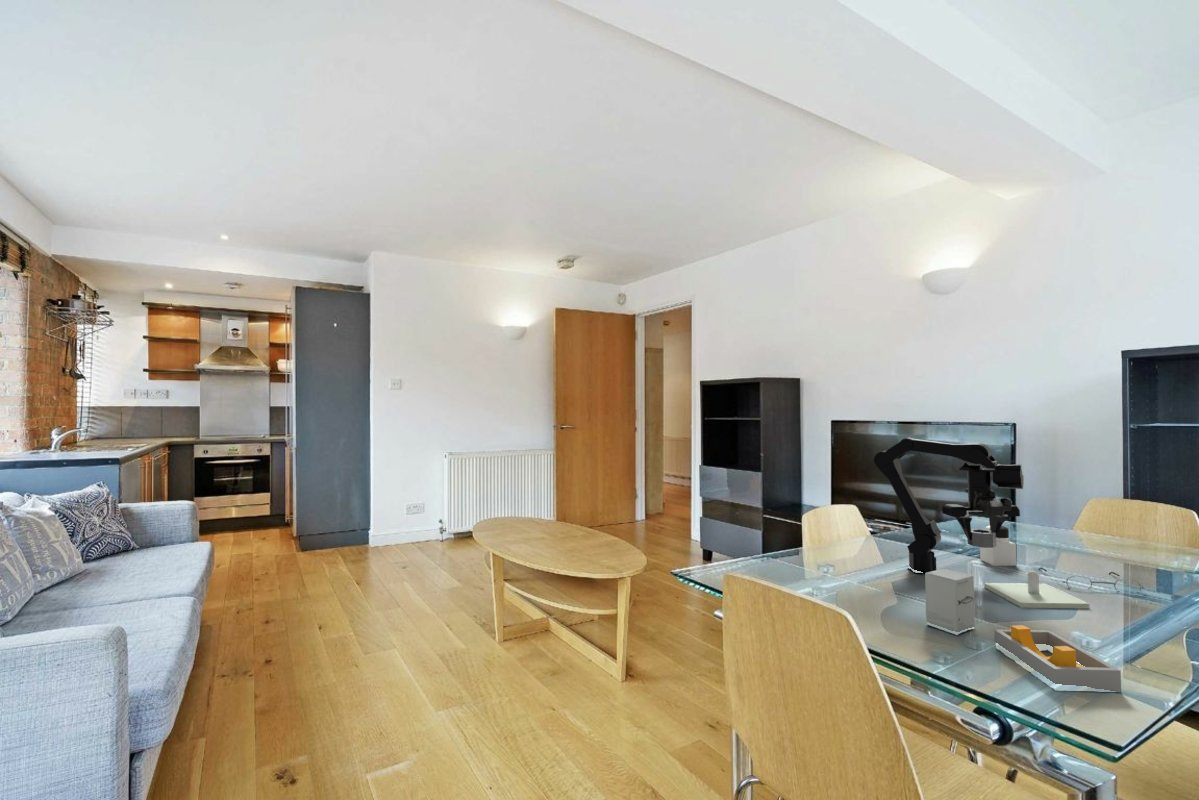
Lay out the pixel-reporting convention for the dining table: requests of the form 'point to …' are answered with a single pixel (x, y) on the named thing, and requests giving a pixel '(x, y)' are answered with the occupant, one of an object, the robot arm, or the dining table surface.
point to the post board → (1035, 594)
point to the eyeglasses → (1098, 581)
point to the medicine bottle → (1000, 550)
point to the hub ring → (982, 538)
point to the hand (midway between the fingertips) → (981, 539)
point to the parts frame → (1090, 675)
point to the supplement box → (950, 599)
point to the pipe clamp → (1059, 658)
